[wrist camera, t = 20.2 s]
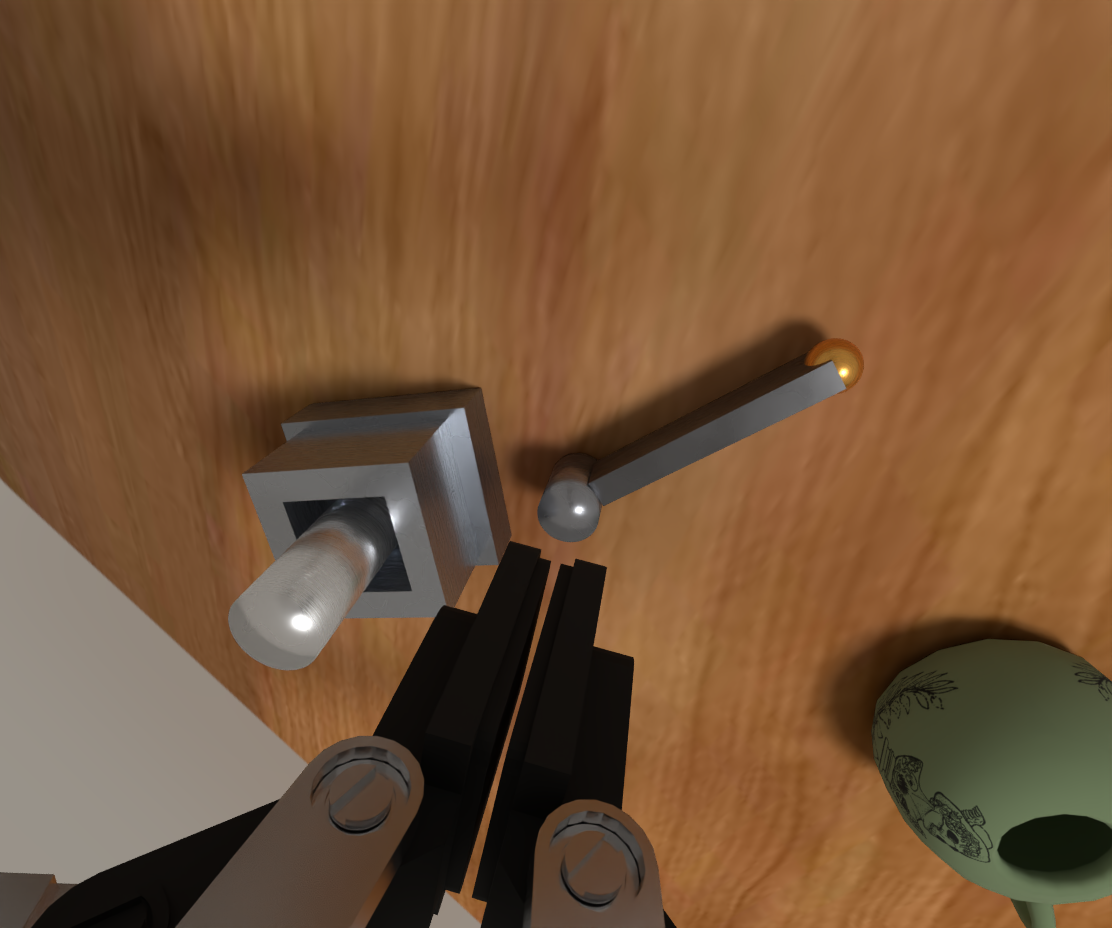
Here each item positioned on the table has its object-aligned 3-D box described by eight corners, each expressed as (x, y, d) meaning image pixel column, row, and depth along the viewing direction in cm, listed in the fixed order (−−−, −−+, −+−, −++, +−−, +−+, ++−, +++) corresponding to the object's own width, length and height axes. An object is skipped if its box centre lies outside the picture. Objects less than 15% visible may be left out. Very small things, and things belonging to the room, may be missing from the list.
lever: (835, 312, 28) (858, 334, 25) (862, 368, 29) (888, 397, 26) (541, 468, 34) (525, 504, 31) (570, 511, 35) (559, 551, 32)
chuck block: (310, 403, 35) (218, 465, 28) (481, 388, 33) (427, 450, 26) (355, 541, 39) (283, 626, 32) (511, 535, 37) (471, 625, 30)
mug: (850, 633, 36) (897, 762, 28) (1121, 607, 32) (1259, 747, 25) (873, 824, 42) (917, 974, 34) (1103, 819, 38) (1210, 984, 31)
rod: (347, 470, 33) (212, 596, 23) (410, 460, 32) (298, 587, 22) (370, 529, 34) (251, 672, 25) (431, 522, 34) (333, 667, 24)
